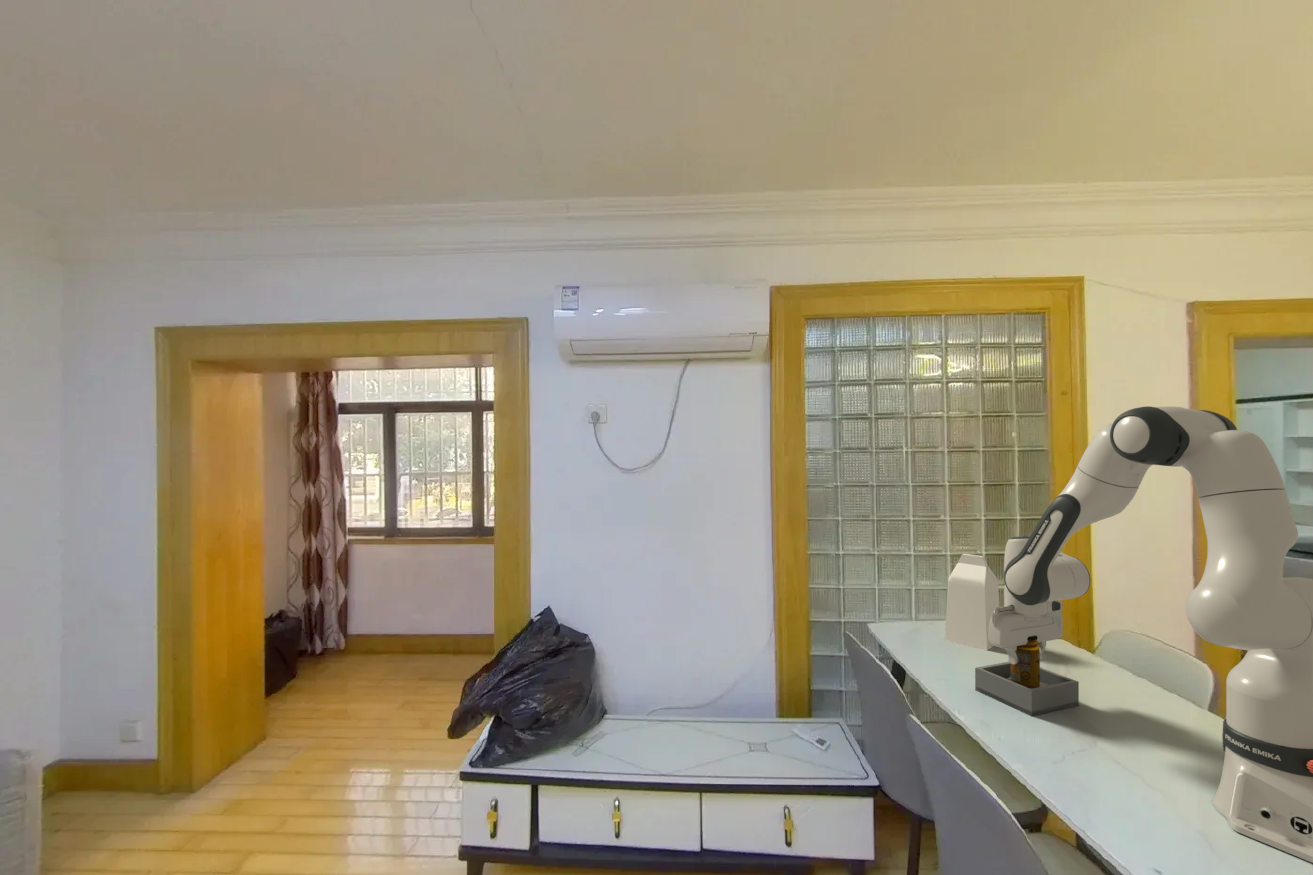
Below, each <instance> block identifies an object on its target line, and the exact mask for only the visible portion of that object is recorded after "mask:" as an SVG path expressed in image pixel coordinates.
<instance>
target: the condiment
mask: <svg viewBox="0 0 1313 875" xmlns="http://www.w3.org/2000/svg"><path fill="white" fill-rule="evenodd" d="M1037 638H1038V637H1037V636H1030V637H1028V638H1027V640H1028V642H1027V644H1026V645H1020V646H1017V650H1015V653H1016V655H1017V656H1019V657H1020V660H1019V661H1020V663H1019V664H1011V678H1008V680H1010V681H1013V682H1015V683H1017V684H1020V685H1022V686H1025V687H1027V688H1029V689H1034V688H1038V687H1043V686H1047V685H1048V684H1045V683H1041V682H1040V667H1041V660H1040V649H1039V646H1038V645H1037V644H1038V641H1037Z"/></svg>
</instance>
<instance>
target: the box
mask: <svg viewBox="0 0 1313 875" xmlns="http://www.w3.org/2000/svg"><path fill="white" fill-rule="evenodd" d="M974 669H975V670H974V672H975V674H974V675H975V676H974V679H975V681H974V684H975V685H974V687H975V690H974V691H976V692H978V693H980V694H983V695H985V696H987V695H988V696H987V697H989V696H990V697H989V698H991V697H992V698H991V699H993V698H994V700H995V699H996V700H995V701H998V702H1000V703H1001V704H1005V705H1007V706H1009V707H1011V708H1013V709H1016V710H1018V711H1019V710H1020V712H1022V713H1024V714H1025V715H1027V716H1031V717H1033V716H1038V715H1042V714H1043V715H1044V714H1046V713H1052V712H1057V711H1060V710H1064V709H1065V710H1066V709H1069V708H1074V707H1078V706H1079V704H1080V702H1079V700H1080V699H1079V698H1080V695H1079V692H1080V690H1079V686H1080V683H1079V681H1078V680H1075V679H1073V678H1070V677H1068V676H1064V675H1062V674H1059V673H1056V672H1054V671H1051V670H1049V669H1046V668H1043V667H1041V666H1040V682H1041V683H1045V684H1048V685H1047V686H1043V687H1038V688H1034V689H1029V688H1027V687H1025V686H1022V685H1020V684H1017V683H1015V682H1013V681H1010V680H1008V678H1011V663H1009V661H1006V662H999V663H993V664H989V665H983V666H978V667H975V668H974Z"/></svg>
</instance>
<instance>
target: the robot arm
mask: <svg viewBox="0 0 1313 875" xmlns="http://www.w3.org/2000/svg"><path fill="white" fill-rule="evenodd" d="M1152 466H1162V467H1178V468H1179V467H1182V468H1184V469H1185V470H1186V471H1187V472H1189V474H1190V476H1191V477H1192V479H1193V482H1194V487H1195V491H1196V495H1197V500H1198V503H1199V504H1198V505H1199V507H1200V512H1201V516H1202V521H1203V525H1204V526H1203V527H1204V530H1205V535H1206V542H1207V543H1206V545H1207V554H1206V555H1207V556H1206V561H1205V567H1204V570H1203V574H1202V577H1201V579H1200V580H1199V583H1198V584H1197V586H1195V587H1194V589H1193V590H1191V592H1190V593H1189V594H1188V596H1187V597H1186V601H1185V613H1186V616H1187V620H1188V622H1189V624H1190V626H1191V627H1192V629H1193V630H1194V631H1195V633H1196V635H1198V636H1199V637H1201V639H1203V640H1204V641H1207V642H1209V643H1210V644H1213V645H1215V646H1220V647H1225V648H1229V649H1235V650H1241V651H1246V653H1245V655H1244V656H1243V658H1242V659H1241V661H1239V663H1238V664H1236V665H1235V666H1234V667H1233V668H1231V669H1230V671H1229V673H1228V674H1227V676H1226V685H1225V686H1226V688H1225V689H1226V690H1225V691H1226V692H1225V693H1226V694H1225V695H1226V697H1225V698H1226V701H1225V702H1226V703H1225V704H1226V706H1225V707H1226V708H1225V709H1226V710H1225V711H1226V713H1225V714H1226V715H1225V716H1226V717H1225V718H1224V720H1223V721H1222V732H1221V733H1222V735H1221V736H1222V737H1221V738H1222V749H1223V752H1224V759H1223V760H1224V761H1223V766H1222V772H1221V776H1220V781H1219V784H1218V787H1217V790H1216V792H1215V795H1214V797H1213V799H1212V803H1213V805H1214V807H1215V808H1216V809H1217V810H1218V811H1219V812H1220V813H1221V814H1222V815H1223V816H1224V817H1225V818H1226V819H1227V821H1228V824H1229V826H1230V828H1231V829H1232V830H1234V831H1235V832H1236V833H1239V834H1242V835H1244V836H1247V837H1248V838H1251V839H1254V840H1256V841H1259V842H1261V843H1263V844H1266V845H1268V846H1271V847H1273V848H1276V849H1278V850H1280V851H1283V852H1285V853H1288V854H1291V855H1292V856H1296V857H1298V858H1300V859H1302V860H1304V861H1307V862H1309V863H1312V864H1313V578H1309V577H1303V576H1301V577H1299V576H1296V577H1295V576H1293V577H1284V565H1285V564H1284V563H1285V558H1286V556H1287V555H1288V554H1287V553H1288V552H1289V550H1291V549H1292V548H1293V547H1294V546H1295V544H1296V543H1297V542H1298V538H1299V531H1298V528H1297V524H1296V521H1295V517H1294V514H1293V511H1292V508H1291V503H1290V501H1289V498H1288V494H1287V490H1286V487H1285V483H1284V481H1283V478H1282V475H1281V473H1280V470H1279V468H1278V466H1277V463H1276V461H1275V458H1274V457H1273V455H1272V453H1271V452H1270V450H1269V448H1268V446H1267V444H1266V443H1265V442H1264V440H1263V439H1262V438H1261V437H1260V436H1259V435H1257V434H1255V433H1252V432H1250V431H1245V430H1238V429H1237V426H1236V424H1235V423H1234V422H1233V421H1232V420H1231V419H1229V418H1228V417H1226V416H1225V415H1223V414H1220V413H1217V412H1215V411H1211V410H1206V409H1199V410H1198V409H1193V408H1184V407H1181V406H1156V407H1155V406H1148V405H1147V406H1146V405H1145V406H1140V407H1139V406H1138V407H1134V408H1132V409H1128V410H1126V411H1124V412H1122V413H1120V414H1119V415H1118V416H1117V417H1115V420H1114V421H1113V423H1109V424H1105V425H1103V426H1102V427H1101V428H1100V429H1098V431H1097V433H1096V434H1095V436H1094V437H1093V438H1092V439H1091V441H1090V443H1089V444H1088V445H1087V447H1086V449H1085V450H1084V453H1083V454H1082V456H1081V458H1080V459H1079V461H1078V464H1077V466H1076V468H1075V470H1074V472H1073V474H1072V476H1071V477H1070V479H1069V481H1068V483H1067V484H1066V485H1065V487H1064V488H1063V489H1062V490H1061V492H1059V494H1058V495H1057V496H1056V497H1055V498H1054V499H1053V501H1051V503H1050V504H1049V506H1048V507H1047V508H1046V510H1044V512H1043V514H1042V515H1041V518H1040V519H1039V521H1038V522H1037V524H1036V526H1035V528H1034V529H1033V531H1032V532H1031V534H1030V535H1023V536H1020V535H1019V536H1013V537H1011V538H1009V539H1008V540H1007V542H1006V544H1005V549H1004V559H1003V560H1004V561H1003V565H1004V566H1003V571H1004V574H1003V579H1004V587H1003V588H1004V589H1003V590H1004V591H1003V592H1004V593H1003V597H1004V598H1003V600H1004V601H1003V602H1004V605H1003V606H999V607H997V608H996V610H995V611H994V612H993V613H992V616H991V619H990V625H989V636H988V640H989V642H990V643H991V645H994V646H993V647H996V648H999V649H1004V650H1005V652H1006V654H1007V655H1008V662H1009V663H1011V664H1019V663H1020V661H1019V660H1020V657H1019V656H1017V655H1016V653H1015V650H1017V646H1020V645H1026V644H1027V642H1028V640H1027V638H1028V637H1030V636H1037V637H1038V638H1037V641H1038V644H1037V645H1038V646H1039V649H1040V661H1041V660H1043V653H1044V651H1045V649H1046V647H1047V642H1049V641H1056V640H1060V639H1061V637H1062V635H1063V627H1064V626H1063V625H1064V624H1063V623H1064V622H1063V613H1062V612H1061V611H1062V610H1063V609H1064V603H1063V602H1062V601H1064V600H1071V599H1076V598H1078V597H1079V598H1080V597H1082V596H1084V595H1085V594H1086V593H1087V592H1088V591H1089V589H1090V586H1091V576H1090V571H1089V569H1088V567H1087V566H1086V565H1085V564H1084V562H1083V561H1082V560H1080V559H1079V558H1077V557H1075V556H1070V555H1068V554H1067V553H1064V552H1062V550H1063V549H1064V547H1065V545H1066V544H1067V542H1068V541H1069V540H1070V538H1071V537H1072V536H1073V535H1074V534H1076V533H1077V532H1079V531H1080V530H1081V529H1083V528H1086V527H1088V526H1090V525H1092V524H1095V523H1097V522H1099V521H1103V520H1105V519H1108V518H1112V517H1114V516H1117V515H1118V514H1121V513H1122V512H1123V511H1124V510H1125V509H1126V508H1127V506H1129V504H1130V503H1131V502H1132V500H1133V499H1134V497H1135V496H1136V494H1137V492H1138V490H1139V487H1140V485H1141V483H1142V482H1143V479H1144V477H1145V475H1146V474H1147V472H1148V470H1149V468H1150V467H1152ZM996 611H997V612H996Z"/></svg>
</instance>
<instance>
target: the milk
mask: <svg viewBox="0 0 1313 875" xmlns="http://www.w3.org/2000/svg"><path fill="white" fill-rule="evenodd" d="M998 581H999V580H998V579H997V576H996V575H995V573H994V572H993V570H991V568H990V566H988V562H987V560H986V558H985V556H983V555H977V554H969V553H962V554H961V555H960V558H959V560H958V561H957V563H956V565H955V567H954V568H953V570H952V572H951V573H950V575H949V577H948V580H947V592H946V594H947V596H946V612H945V629H944V630H945V633H944V641H945V640H949V641H952V642H951V643H953V642H956V643H955V644H957V643H960V644H959V645H962V644H963V646H965V647H966V646H967V647H970V646H971V648H974V649H979V650H982V649H985V650H984V651H988V649H989V650H990V649H992V648H993V647H995V646H994V645H991V643H990V642H989V640H988V636H989V625H990V619H991V616H992V613H993V612H994V611H995V610H996V608H997V607H1000V595H999V594H1000V593H999V582H998ZM996 612H997V611H996ZM949 641H948V642H949Z"/></svg>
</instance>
